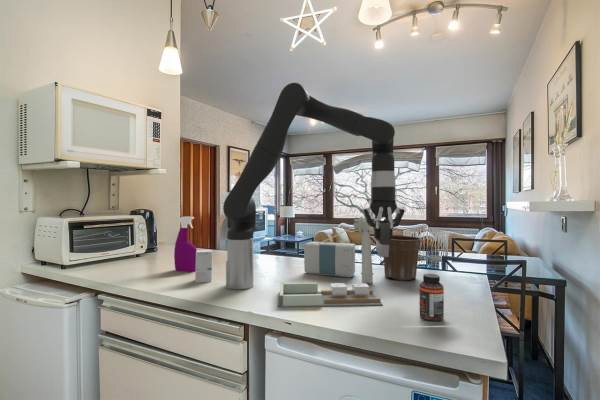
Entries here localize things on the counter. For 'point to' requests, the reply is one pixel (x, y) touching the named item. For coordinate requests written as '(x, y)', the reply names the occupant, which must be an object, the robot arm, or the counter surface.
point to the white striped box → (330, 258)
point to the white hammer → (365, 249)
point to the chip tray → (302, 298)
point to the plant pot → (402, 257)
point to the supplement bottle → (431, 298)
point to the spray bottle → (184, 248)
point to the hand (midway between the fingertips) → (383, 239)
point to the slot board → (340, 300)
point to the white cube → (338, 290)
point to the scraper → (383, 238)
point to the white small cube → (360, 290)
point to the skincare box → (203, 266)
